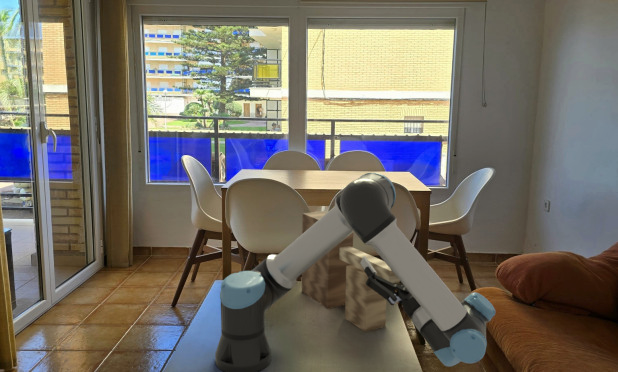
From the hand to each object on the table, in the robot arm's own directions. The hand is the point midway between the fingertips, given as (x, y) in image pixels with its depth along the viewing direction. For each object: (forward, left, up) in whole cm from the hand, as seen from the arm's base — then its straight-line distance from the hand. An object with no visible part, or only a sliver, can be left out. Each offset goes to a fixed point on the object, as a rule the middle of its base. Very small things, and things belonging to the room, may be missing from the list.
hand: (380, 256), depth 144 cm
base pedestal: (-2, +6, -24) cm, 25 cm away
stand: (-8, +29, -24) cm, 39 cm away
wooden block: (-2, +6, -6) cm, 9 cm away
